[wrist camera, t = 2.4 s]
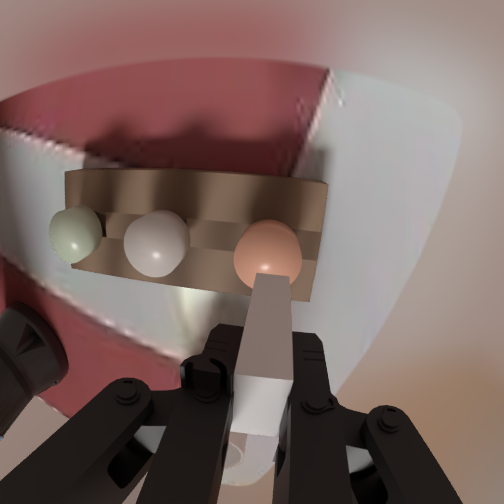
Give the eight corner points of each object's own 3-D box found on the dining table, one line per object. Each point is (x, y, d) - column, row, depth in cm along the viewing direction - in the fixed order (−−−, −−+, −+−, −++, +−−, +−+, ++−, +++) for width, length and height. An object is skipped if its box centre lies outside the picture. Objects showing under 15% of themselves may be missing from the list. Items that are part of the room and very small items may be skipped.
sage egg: (79, 245, 24) (52, 259, 20) (75, 200, 22) (47, 209, 18) (114, 249, 24) (88, 266, 20) (112, 202, 22) (84, 212, 18)
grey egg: (148, 254, 23) (125, 272, 19) (147, 204, 22) (122, 214, 18) (196, 260, 23) (180, 281, 19) (198, 207, 22) (180, 219, 18)
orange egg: (239, 265, 23) (231, 288, 19) (243, 211, 22) (235, 224, 18) (293, 271, 23) (296, 295, 19) (301, 217, 21) (306, 231, 17)
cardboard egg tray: (87, 258, 28) (71, 268, 25) (82, 168, 25) (64, 171, 22) (306, 286, 27) (309, 301, 24) (322, 181, 23) (328, 184, 21)
